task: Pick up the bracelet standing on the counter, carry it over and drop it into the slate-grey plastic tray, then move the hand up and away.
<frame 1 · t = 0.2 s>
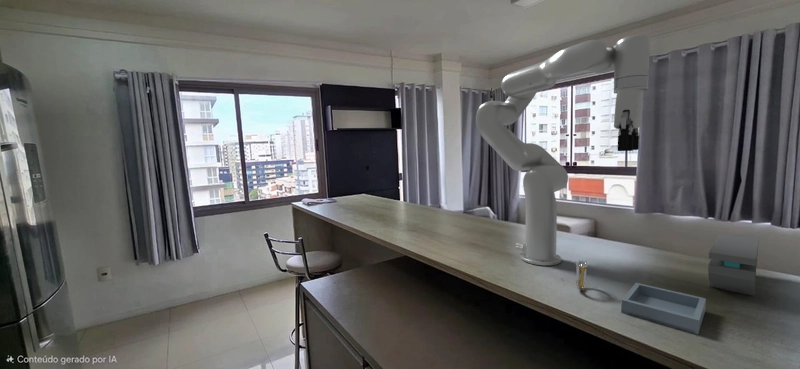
hand: (628, 150, 89), 36 cm above the counter, tool pointing down, fingers open, 9 cm apart
bracelet: (581, 290, 86), on the counter
tray: (662, 311, 74), on the counter
gray slotted box: (732, 285, 87), on the counter
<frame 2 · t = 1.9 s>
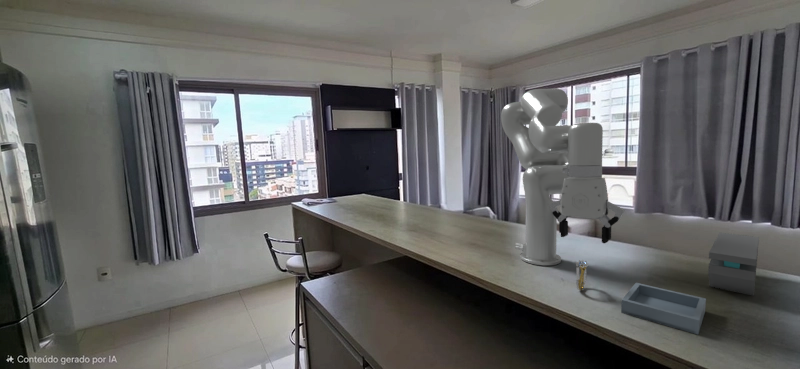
hand: (583, 239, 84), 14 cm above the counter, tool pointing down, fingers open, 9 cm apart
nothing on the counter moved.
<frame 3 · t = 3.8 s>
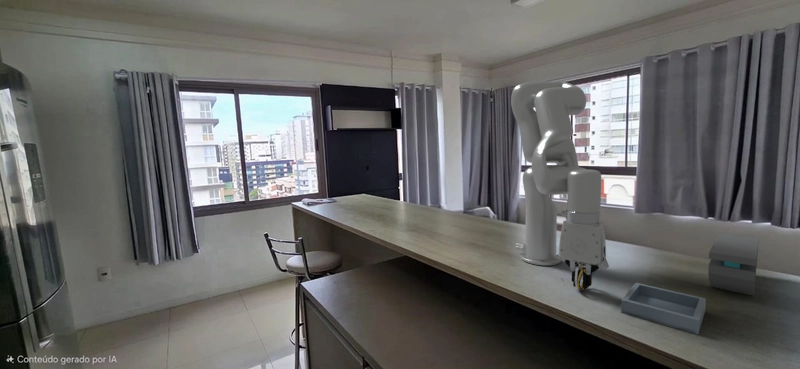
hand: (581, 285, 86), 1 cm above the counter, tool pointing down, fingers closed on bracelet
bracelet: (581, 290, 86), on the counter, touching gripper
everything else where it was.
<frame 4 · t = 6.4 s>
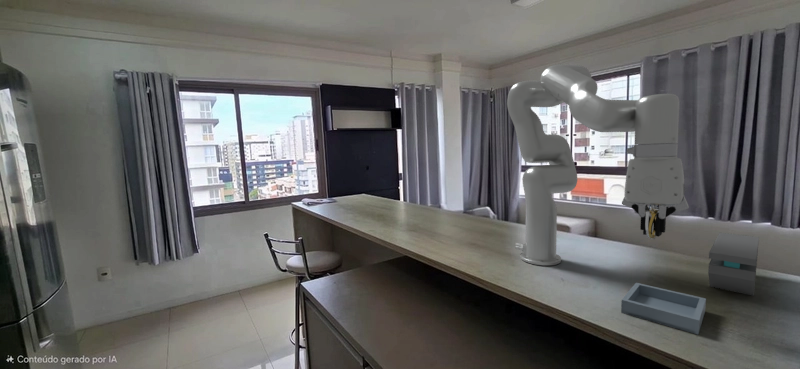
hand: (652, 233, 74), 18 cm above the counter, tool pointing down, fingers closed on bracelet
bracelet: (652, 239, 74), point 16 cm above the counter, touching gripper
everything else where it was.
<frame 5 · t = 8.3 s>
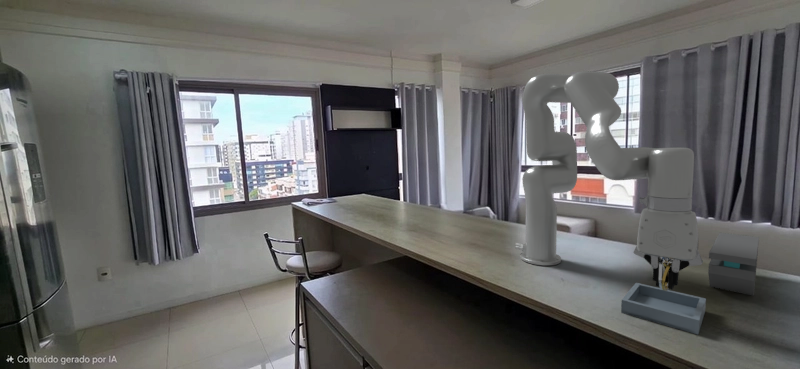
hand: (665, 285, 73), 6 cm above the counter, tool pointing down, fingers closed on bracelet
bracelet: (665, 291, 73), point 5 cm above the counter, touching gripper
everything else where it was.
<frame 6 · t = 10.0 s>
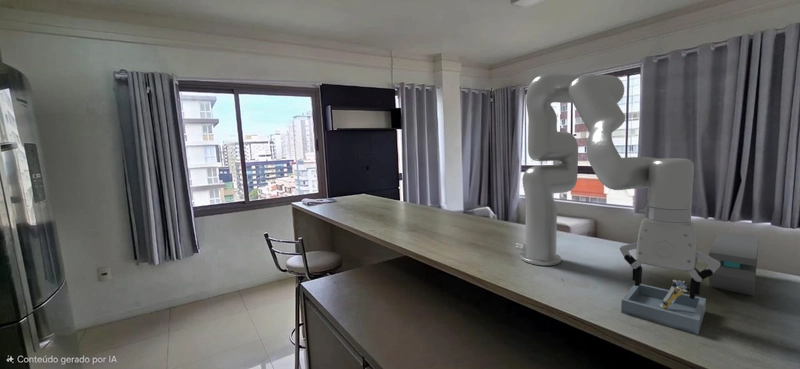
hand: (664, 290, 73), 5 cm above the counter, tool pointing down, fingers open, 9 cm apart
bracelet: (662, 309, 74), point 1 cm above the counter, touching gripper, tray
everything else where it was.
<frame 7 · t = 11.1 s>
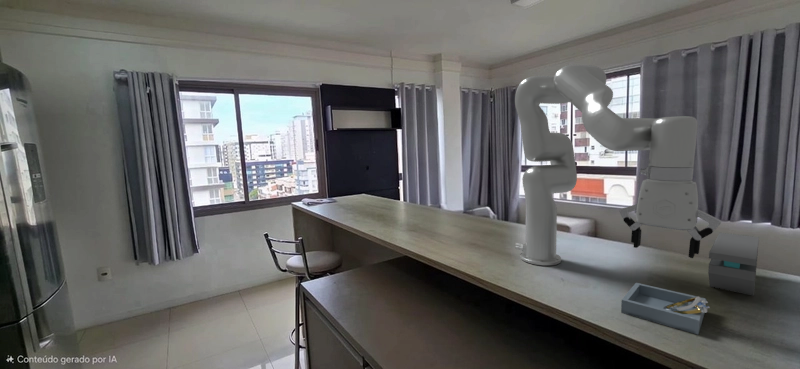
hand: (662, 251, 73), 14 cm above the counter, tool pointing down, fingers open, 9 cm apart
bracelet: (663, 308, 73), point 1 cm above the counter, touching tray
everything else where it was.
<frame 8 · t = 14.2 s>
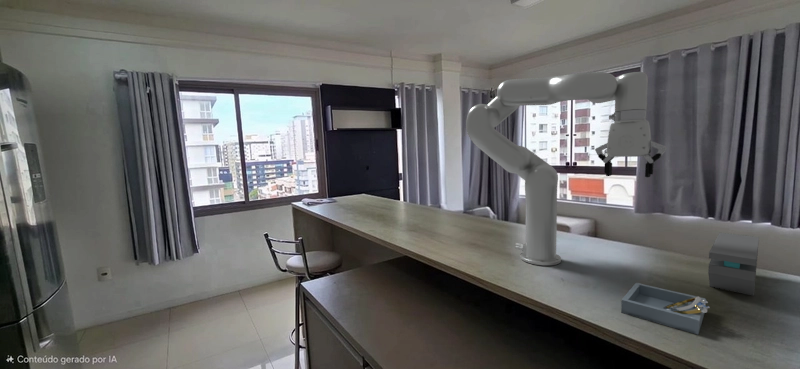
hand: (627, 176, 96), 28 cm above the counter, tool pointing down, fingers open, 9 cm apart
nothing on the counter moved.
at the end: bracelet inside the target area on the tray (0.3 cm from its centre), point 0.9 cm above the tray's base; the gripper is holding nothing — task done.
